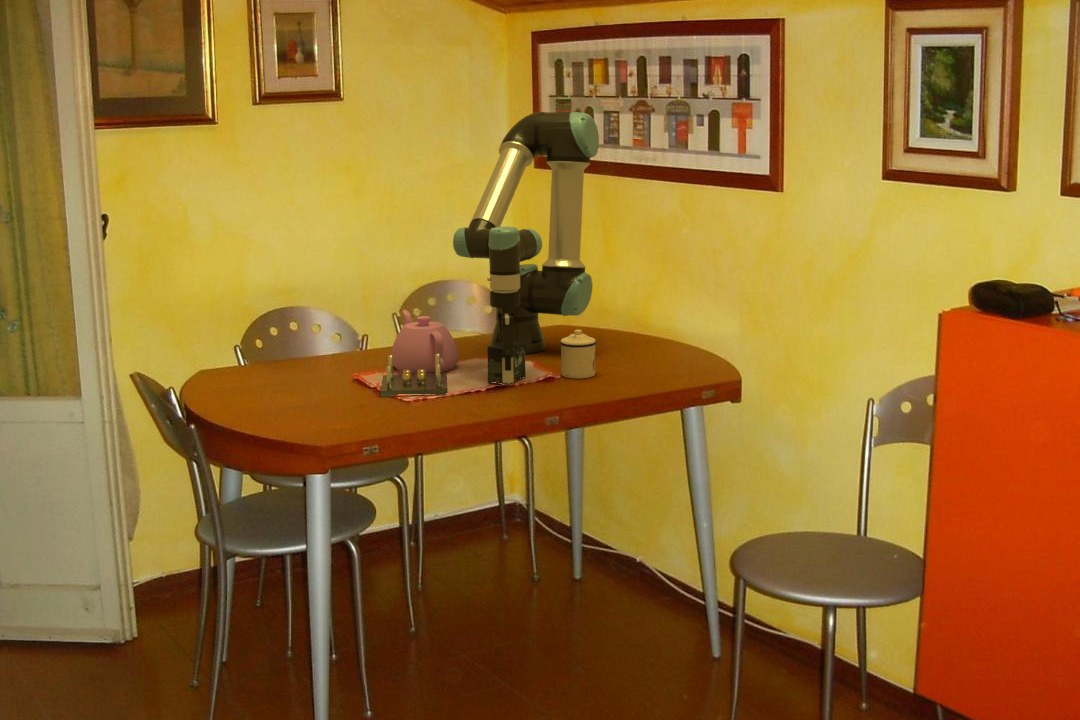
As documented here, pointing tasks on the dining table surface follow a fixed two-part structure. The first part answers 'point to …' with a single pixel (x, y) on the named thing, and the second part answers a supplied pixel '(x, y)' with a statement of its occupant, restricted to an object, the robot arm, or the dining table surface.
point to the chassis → (413, 381)
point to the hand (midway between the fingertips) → (506, 377)
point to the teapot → (423, 346)
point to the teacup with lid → (578, 356)
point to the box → (496, 362)
